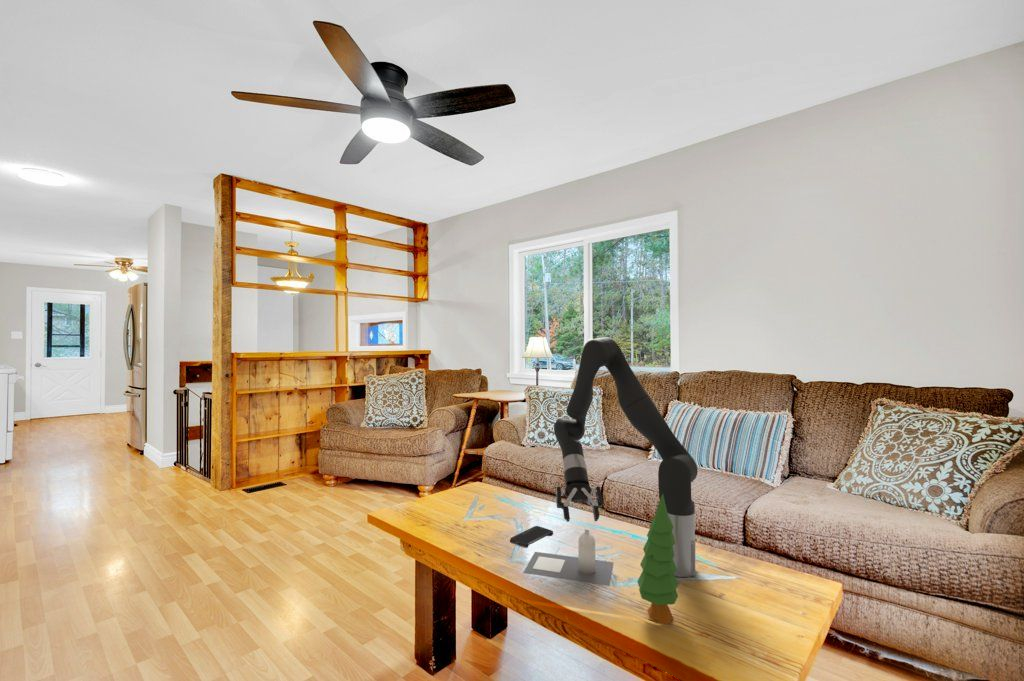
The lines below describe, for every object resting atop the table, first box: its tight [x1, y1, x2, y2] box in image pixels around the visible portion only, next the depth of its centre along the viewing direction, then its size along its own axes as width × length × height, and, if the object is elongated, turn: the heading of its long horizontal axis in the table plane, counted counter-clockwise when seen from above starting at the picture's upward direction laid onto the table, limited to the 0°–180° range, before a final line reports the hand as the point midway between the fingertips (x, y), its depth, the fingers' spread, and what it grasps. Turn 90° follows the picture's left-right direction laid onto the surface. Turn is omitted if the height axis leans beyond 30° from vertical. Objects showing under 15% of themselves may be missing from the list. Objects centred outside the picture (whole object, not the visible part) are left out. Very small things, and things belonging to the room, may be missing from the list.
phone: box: [509, 525, 554, 548], centre depth 159 cm, size 8×1×15 cm
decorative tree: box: [637, 494, 680, 625], centre depth 114 cm, size 10×9×30 cm
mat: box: [522, 551, 614, 586], centre depth 137 cm, size 24×14×1 cm, turn 73°
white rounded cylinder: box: [577, 528, 596, 574], centre depth 135 cm, size 5×5×12 cm
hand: (582, 520), depth 142 cm, fingers open, 8 cm apart
